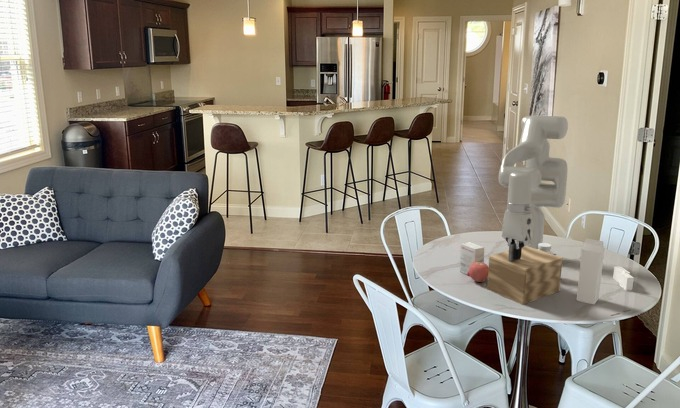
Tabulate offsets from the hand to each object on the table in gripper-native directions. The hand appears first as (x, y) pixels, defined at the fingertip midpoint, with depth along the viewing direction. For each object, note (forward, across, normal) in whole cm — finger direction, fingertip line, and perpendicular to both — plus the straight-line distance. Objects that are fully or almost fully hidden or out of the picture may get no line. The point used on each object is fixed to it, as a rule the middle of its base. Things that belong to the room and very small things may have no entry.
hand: (514, 257), depth 201 cm
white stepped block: (+15, -17, -41) cm, 46 cm away
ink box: (+14, +22, -2) cm, 26 cm away
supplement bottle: (+14, +5, -23) cm, 27 cm away
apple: (+14, +15, +1) cm, 21 cm away
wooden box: (+14, 0, -6) cm, 15 cm away
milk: (+14, -18, -18) cm, 29 cm away
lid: (+2, 0, -6) cm, 6 cm away
